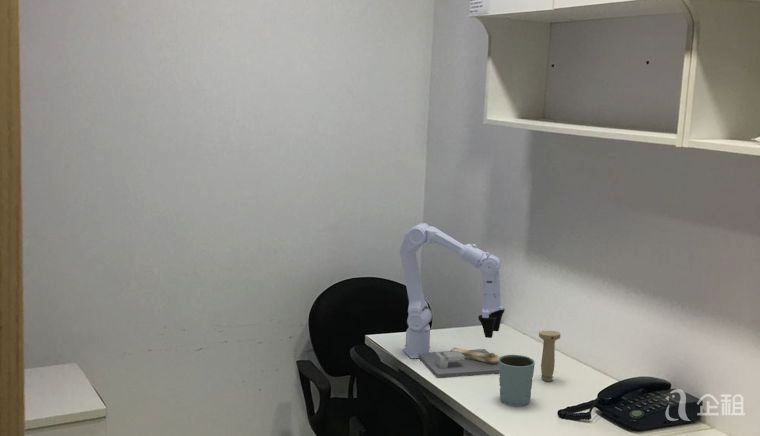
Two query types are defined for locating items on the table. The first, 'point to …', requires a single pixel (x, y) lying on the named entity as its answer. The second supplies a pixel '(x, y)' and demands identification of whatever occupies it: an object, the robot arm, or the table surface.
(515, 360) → the teal cup
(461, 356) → the block
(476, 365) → the board
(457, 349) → the link
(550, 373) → the handle
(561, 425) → the table surface
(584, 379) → the table surface
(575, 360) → the table surface
